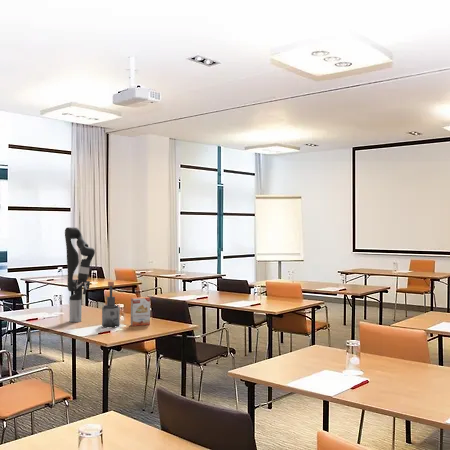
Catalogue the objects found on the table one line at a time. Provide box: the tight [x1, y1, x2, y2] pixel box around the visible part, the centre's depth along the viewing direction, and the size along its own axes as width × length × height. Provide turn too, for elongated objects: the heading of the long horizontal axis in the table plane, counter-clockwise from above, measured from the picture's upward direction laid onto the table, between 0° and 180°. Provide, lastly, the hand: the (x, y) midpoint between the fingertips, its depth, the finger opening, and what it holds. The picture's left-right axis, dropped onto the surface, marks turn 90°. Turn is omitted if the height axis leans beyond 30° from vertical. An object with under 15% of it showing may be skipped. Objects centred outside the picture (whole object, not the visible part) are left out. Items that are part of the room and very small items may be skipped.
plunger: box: [107, 281, 115, 297], centre depth 402 cm, size 4×4×12 cm
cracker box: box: [130, 296, 151, 327], centre depth 406 cm, size 14×6×21 cm, turn 117°
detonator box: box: [101, 295, 121, 328], centre depth 400 cm, size 18×13×22 cm
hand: (79, 293), depth 404 cm, fingers open, 8 cm apart
